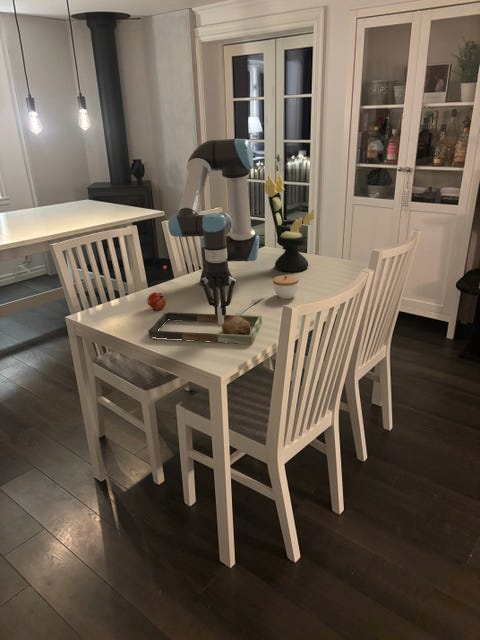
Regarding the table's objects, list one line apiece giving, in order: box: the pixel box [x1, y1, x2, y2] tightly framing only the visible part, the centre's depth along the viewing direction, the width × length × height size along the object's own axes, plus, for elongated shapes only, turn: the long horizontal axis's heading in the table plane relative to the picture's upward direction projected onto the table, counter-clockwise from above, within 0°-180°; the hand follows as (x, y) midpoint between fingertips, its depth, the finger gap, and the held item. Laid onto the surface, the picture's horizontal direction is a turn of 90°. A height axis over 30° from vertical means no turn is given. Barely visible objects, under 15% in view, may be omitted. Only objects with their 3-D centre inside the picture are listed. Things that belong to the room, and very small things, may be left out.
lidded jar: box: [272, 274, 300, 300], centre depth 202 cm, size 11×11×9 cm
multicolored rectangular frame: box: [148, 311, 263, 345], centre depth 175 cm, size 18×38×3 cm, turn 77°
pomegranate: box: [146, 292, 167, 311], centre depth 198 cm, size 7×7×10 cm
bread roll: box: [221, 316, 251, 335], centre depth 172 cm, size 10×10×8 cm
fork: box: [234, 297, 265, 315], centre depth 196 cm, size 3×21×3 cm, turn 147°
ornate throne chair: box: [263, 174, 315, 273], centre depth 232 cm, size 19×22×45 cm
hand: (221, 323), depth 173 cm, fingers closed
